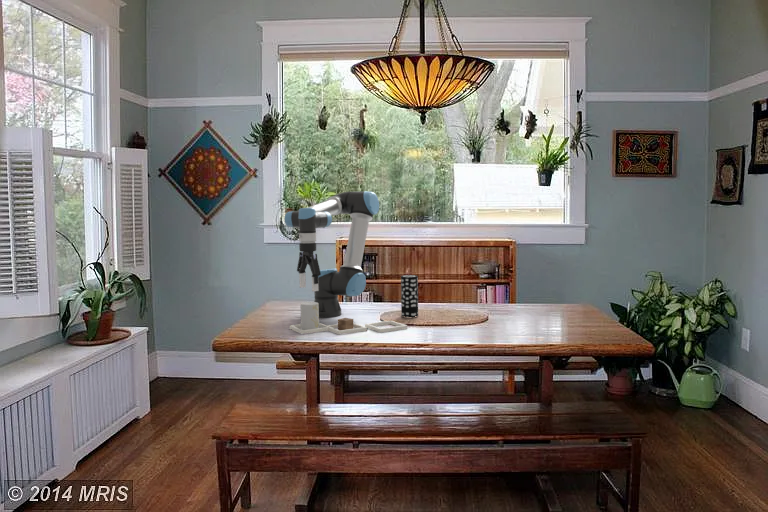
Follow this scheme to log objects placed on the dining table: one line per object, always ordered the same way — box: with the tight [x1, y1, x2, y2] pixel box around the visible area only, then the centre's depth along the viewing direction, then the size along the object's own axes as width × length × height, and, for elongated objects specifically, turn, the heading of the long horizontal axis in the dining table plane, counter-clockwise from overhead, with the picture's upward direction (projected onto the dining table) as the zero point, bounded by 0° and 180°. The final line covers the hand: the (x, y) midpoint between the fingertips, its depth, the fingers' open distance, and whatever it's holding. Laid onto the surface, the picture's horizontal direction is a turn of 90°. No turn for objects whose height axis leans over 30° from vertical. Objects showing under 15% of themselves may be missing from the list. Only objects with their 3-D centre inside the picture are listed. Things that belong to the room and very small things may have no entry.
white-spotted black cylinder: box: [400, 274, 419, 318], centre depth 334 cm, size 8×8×20 cm
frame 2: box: [325, 322, 368, 335], centre depth 305 cm, size 14×14×2 cm
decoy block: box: [337, 317, 355, 330], centre depth 305 cm, size 5×5×5 cm
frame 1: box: [289, 322, 330, 335], centre depth 307 cm, size 14×14×2 cm
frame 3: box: [364, 320, 408, 333], centre depth 308 cm, size 14×14×2 cm
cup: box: [299, 301, 320, 330], centre depth 307 cm, size 8×8×12 cm
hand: (308, 289), depth 305 cm, fingers open, 13 cm apart
